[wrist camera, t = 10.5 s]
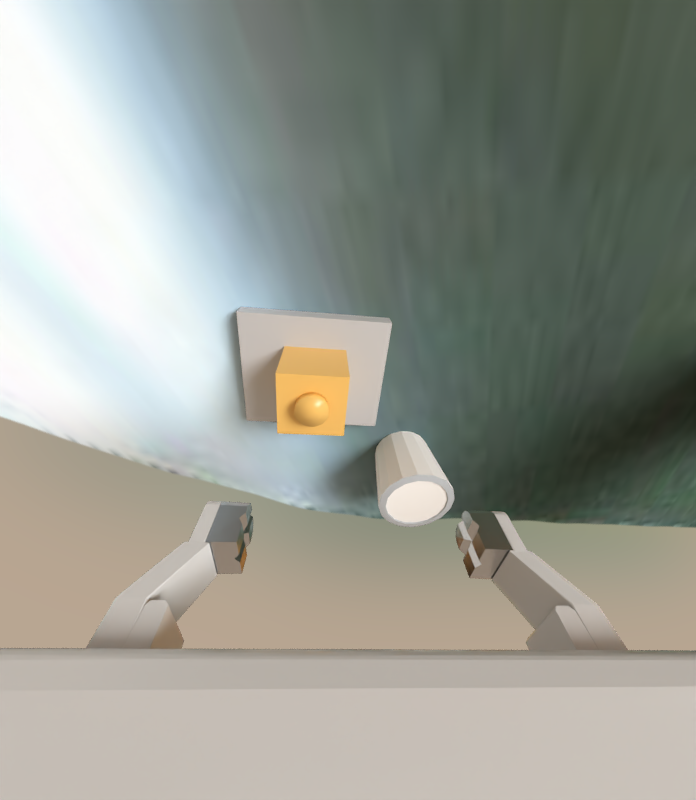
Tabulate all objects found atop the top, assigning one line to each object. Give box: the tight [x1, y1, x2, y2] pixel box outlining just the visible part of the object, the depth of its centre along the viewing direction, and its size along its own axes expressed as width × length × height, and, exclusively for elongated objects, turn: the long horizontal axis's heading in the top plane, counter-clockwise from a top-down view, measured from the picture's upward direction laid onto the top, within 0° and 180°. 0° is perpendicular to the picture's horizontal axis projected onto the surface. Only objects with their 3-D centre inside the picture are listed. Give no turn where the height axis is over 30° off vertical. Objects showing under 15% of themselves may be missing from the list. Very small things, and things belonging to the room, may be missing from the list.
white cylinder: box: [375, 431, 455, 527], centre depth 30 cm, size 7×7×7 cm
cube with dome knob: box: [275, 346, 350, 436], centre depth 24 cm, size 5×5×6 cm
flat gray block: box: [236, 307, 392, 426], centre depth 25 cm, size 12×10×5 cm
